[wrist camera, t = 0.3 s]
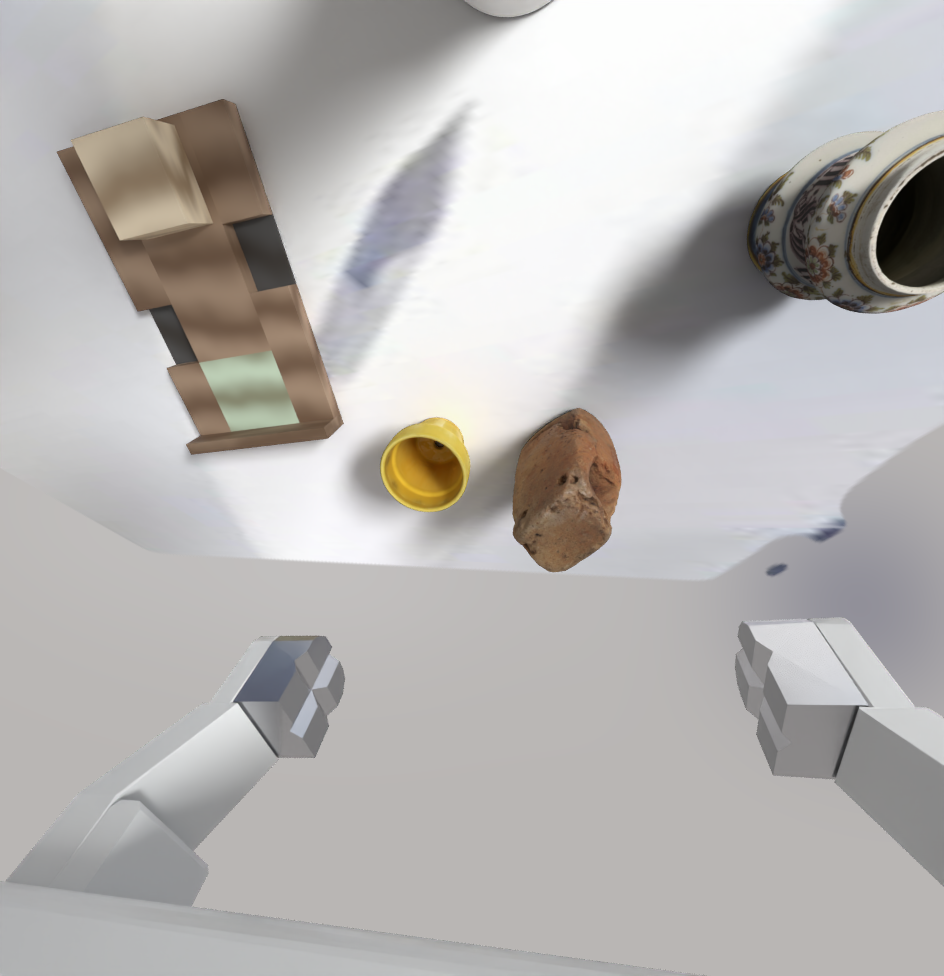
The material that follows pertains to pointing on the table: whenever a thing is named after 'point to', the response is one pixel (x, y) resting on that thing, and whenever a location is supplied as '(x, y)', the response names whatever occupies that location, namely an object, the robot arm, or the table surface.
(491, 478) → the table surface
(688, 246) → the table surface
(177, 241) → the box
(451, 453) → the plant pot
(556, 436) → the block
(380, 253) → the table surface
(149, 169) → the maple block
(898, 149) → the apothecary jar
